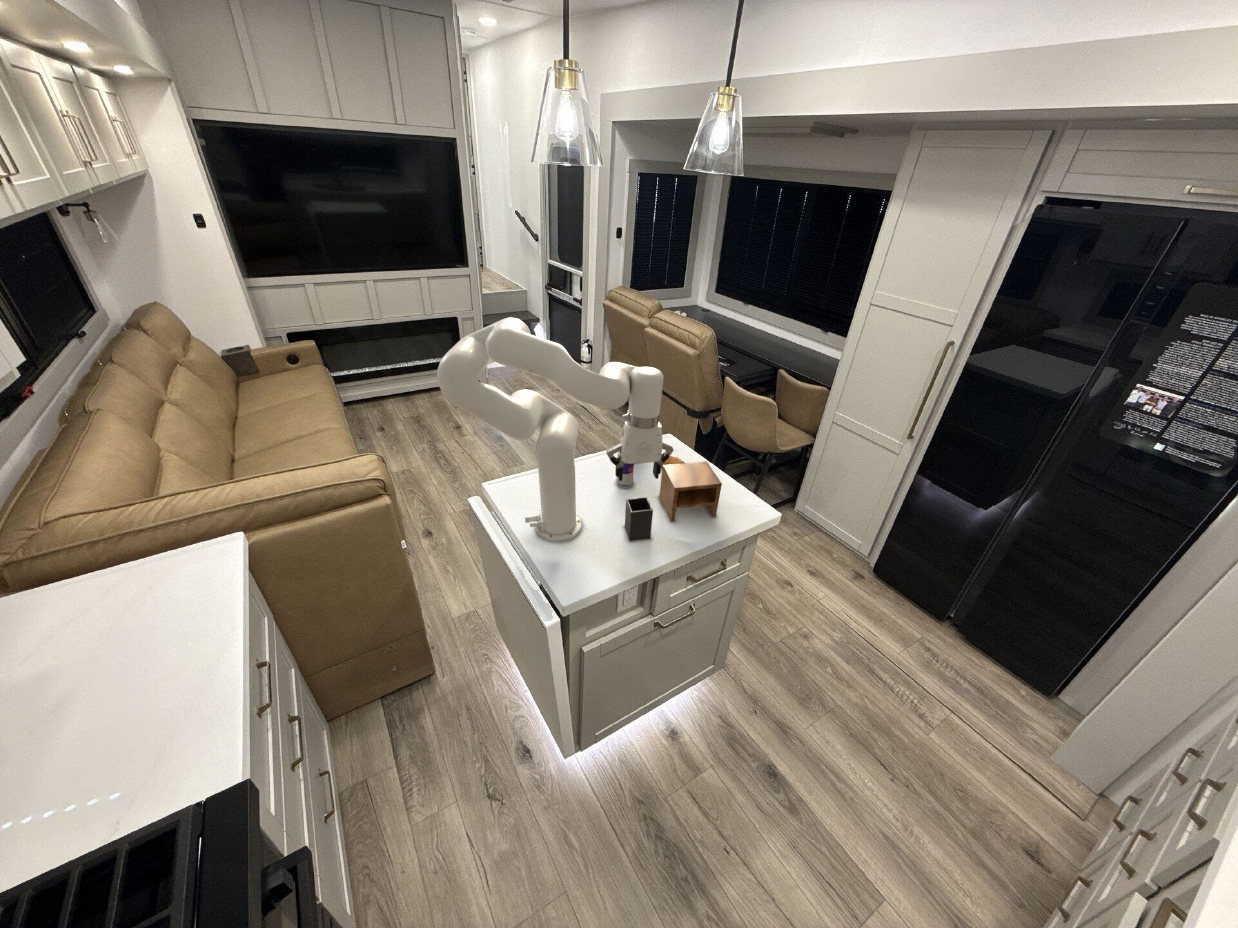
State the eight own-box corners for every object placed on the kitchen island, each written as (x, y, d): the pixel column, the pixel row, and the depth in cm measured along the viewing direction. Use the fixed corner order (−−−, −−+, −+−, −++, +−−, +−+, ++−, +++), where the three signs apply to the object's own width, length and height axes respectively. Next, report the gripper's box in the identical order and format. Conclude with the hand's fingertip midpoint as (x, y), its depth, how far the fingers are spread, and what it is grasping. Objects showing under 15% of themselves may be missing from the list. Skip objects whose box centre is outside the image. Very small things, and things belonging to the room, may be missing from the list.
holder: (629, 541, 132) (631, 512, 127) (624, 527, 137) (626, 498, 132) (650, 538, 133) (653, 510, 128) (645, 524, 138) (647, 496, 133)
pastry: (654, 463, 166) (654, 454, 164) (667, 457, 170) (668, 448, 168) (673, 475, 160) (674, 465, 158) (687, 469, 164) (688, 459, 162)
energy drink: (633, 488, 153) (635, 456, 147) (616, 488, 153) (617, 455, 147) (632, 479, 158) (634, 447, 151) (616, 478, 158) (617, 447, 151)
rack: (670, 521, 140) (674, 488, 133) (659, 497, 150) (662, 464, 143) (715, 516, 143) (722, 483, 136) (701, 493, 152) (706, 461, 146)
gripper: (611, 427, 112) (607, 487, 121) (682, 424, 115) (673, 482, 124) (605, 412, 118) (602, 471, 127) (672, 410, 121) (665, 467, 131)
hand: (637, 476), depth 126 cm, fingers open, 9 cm apart
